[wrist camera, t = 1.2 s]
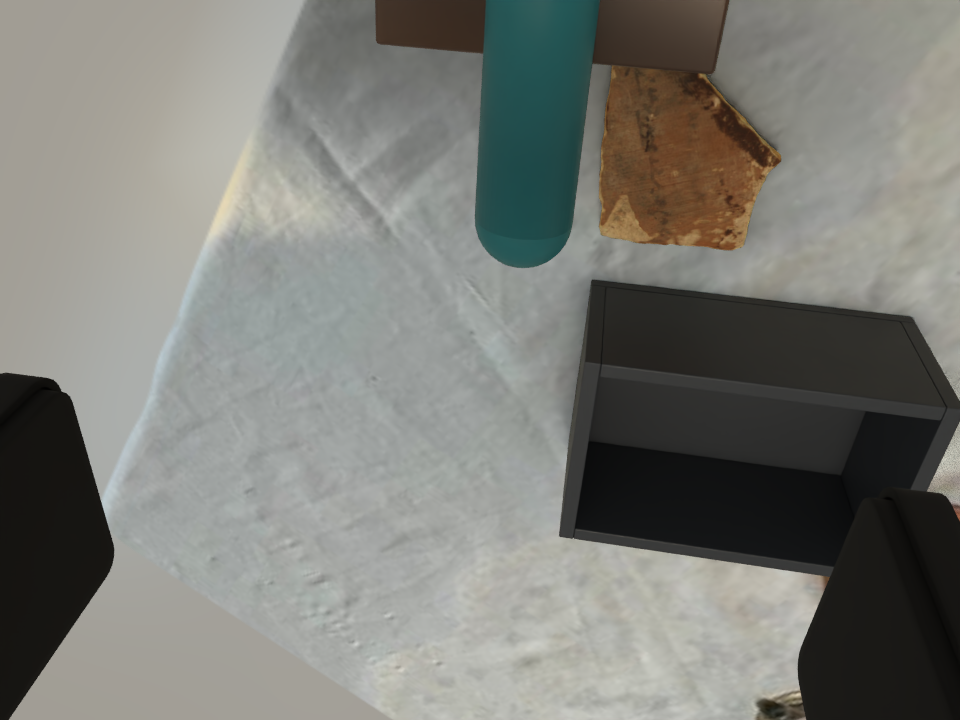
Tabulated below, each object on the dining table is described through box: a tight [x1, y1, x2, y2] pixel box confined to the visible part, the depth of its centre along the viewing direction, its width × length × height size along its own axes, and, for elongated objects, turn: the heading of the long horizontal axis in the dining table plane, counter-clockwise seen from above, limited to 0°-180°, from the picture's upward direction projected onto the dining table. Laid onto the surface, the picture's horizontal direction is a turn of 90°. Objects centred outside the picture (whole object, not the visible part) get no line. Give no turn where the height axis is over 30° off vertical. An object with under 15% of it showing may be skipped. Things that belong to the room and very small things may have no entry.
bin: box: [559, 280, 960, 577], centre depth 40 cm, size 15×10×8 cm
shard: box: [599, 65, 781, 250], centre depth 35 cm, size 11×8×2 cm
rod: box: [475, 0, 600, 268], centre depth 17 cm, size 12×2×2 cm, turn 177°
